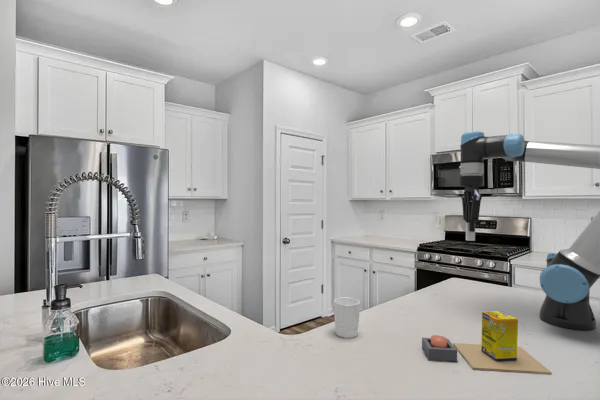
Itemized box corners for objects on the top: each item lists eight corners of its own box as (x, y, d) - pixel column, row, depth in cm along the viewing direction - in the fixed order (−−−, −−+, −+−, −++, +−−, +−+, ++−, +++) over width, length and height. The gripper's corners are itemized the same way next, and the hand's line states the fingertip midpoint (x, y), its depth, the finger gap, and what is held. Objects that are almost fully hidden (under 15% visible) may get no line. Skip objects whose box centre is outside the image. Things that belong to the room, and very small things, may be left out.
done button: (444, 348, 93) (444, 335, 93) (449, 355, 89) (449, 341, 89) (428, 347, 94) (429, 334, 94) (433, 354, 90) (433, 341, 90)
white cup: (359, 340, 100) (359, 306, 100) (332, 337, 102) (332, 304, 102) (359, 329, 108) (360, 298, 108) (334, 327, 110) (335, 296, 109)
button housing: (448, 349, 95) (448, 338, 95) (457, 362, 88) (457, 350, 88) (421, 348, 95) (422, 337, 95) (428, 360, 88) (428, 348, 88)
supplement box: (480, 351, 93) (481, 311, 92) (500, 350, 93) (501, 310, 93) (496, 362, 87) (496, 319, 87) (517, 361, 88) (518, 318, 87)
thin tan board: (520, 348, 96) (520, 346, 96) (551, 374, 82) (551, 372, 82) (453, 344, 98) (453, 343, 98) (472, 369, 84) (472, 367, 84)
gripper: (454, 176, 131) (453, 238, 132) (467, 174, 118) (466, 242, 119) (475, 176, 131) (473, 238, 131) (490, 174, 118) (489, 243, 118)
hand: (470, 240), depth 125 cm, fingers closed
